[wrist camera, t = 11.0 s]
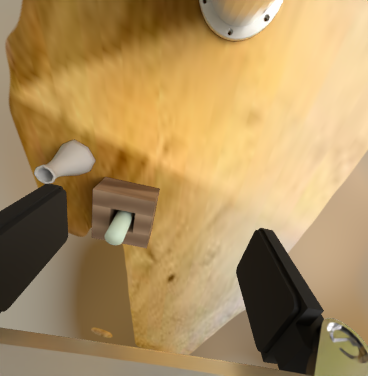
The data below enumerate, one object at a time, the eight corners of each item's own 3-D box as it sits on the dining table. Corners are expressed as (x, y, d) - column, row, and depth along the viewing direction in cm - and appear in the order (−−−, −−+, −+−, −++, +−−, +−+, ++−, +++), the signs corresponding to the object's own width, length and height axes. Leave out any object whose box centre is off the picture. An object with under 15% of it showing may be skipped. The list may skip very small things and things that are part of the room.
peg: (121, 200, 42) (105, 228, 33) (136, 203, 43) (124, 232, 34) (120, 212, 44) (103, 243, 35) (134, 215, 44) (122, 246, 35)
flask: (102, 160, 40) (76, 179, 31) (80, 180, 42) (50, 202, 33) (74, 132, 37) (37, 143, 28) (52, 154, 39) (11, 171, 30)
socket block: (105, 176, 41) (92, 188, 36) (159, 188, 42) (155, 202, 37) (103, 221, 46) (91, 237, 41) (151, 230, 47) (146, 248, 42)
